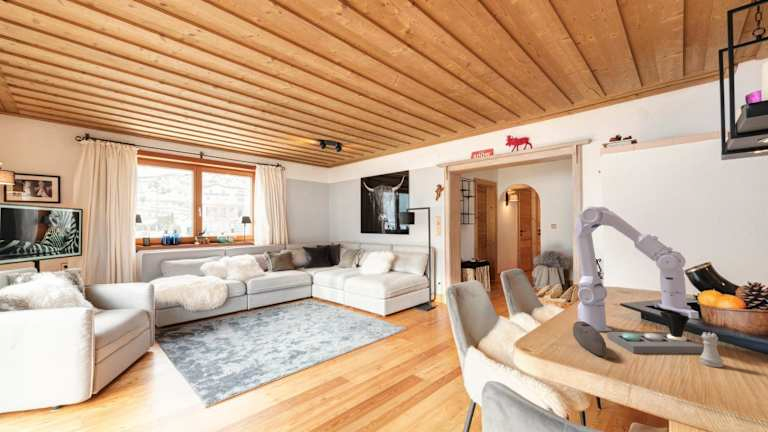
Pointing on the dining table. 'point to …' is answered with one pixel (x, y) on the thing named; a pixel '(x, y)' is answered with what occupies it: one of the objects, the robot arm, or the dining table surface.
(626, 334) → the teal button
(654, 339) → the grey button
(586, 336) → the perforated stone tool
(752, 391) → the dining table surface
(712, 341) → the rook chess piece
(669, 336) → the cream button
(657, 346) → the button board
